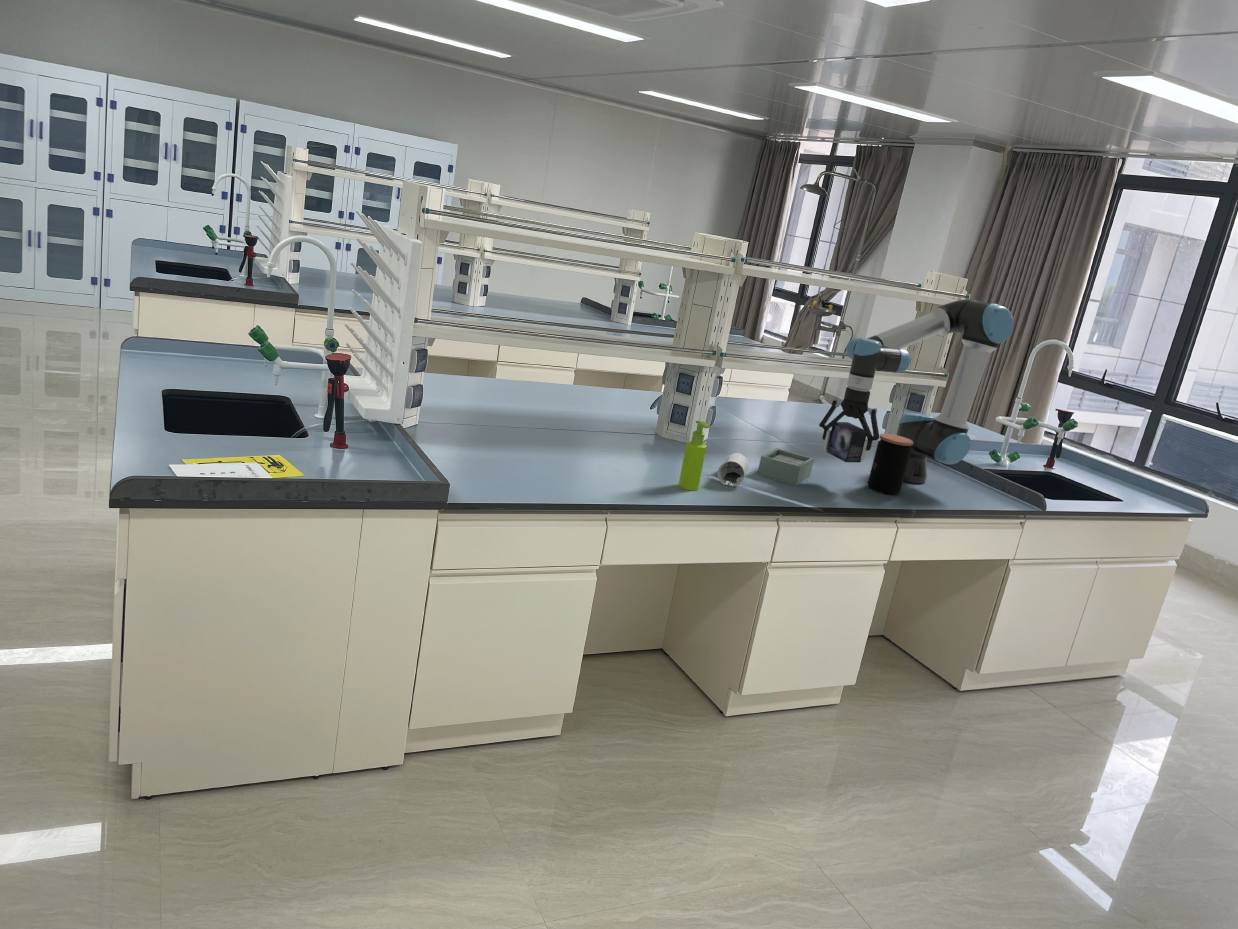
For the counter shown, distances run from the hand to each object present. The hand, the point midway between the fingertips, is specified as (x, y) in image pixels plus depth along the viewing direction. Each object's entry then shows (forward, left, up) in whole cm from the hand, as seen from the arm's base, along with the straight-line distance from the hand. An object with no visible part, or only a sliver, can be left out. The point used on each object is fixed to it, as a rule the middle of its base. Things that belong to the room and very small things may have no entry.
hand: (843, 454), depth 280 cm
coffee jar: (-13, -14, -11) cm, 22 cm away
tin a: (+16, +3, -10) cm, 19 cm away
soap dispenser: (+32, +46, -11) cm, 58 cm away
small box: (0, 0, -1) cm, 1 cm away
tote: (+16, +6, -11) cm, 20 cm away
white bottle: (+27, +26, -11) cm, 39 cm away
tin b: (+16, +10, -10) cm, 21 cm away
